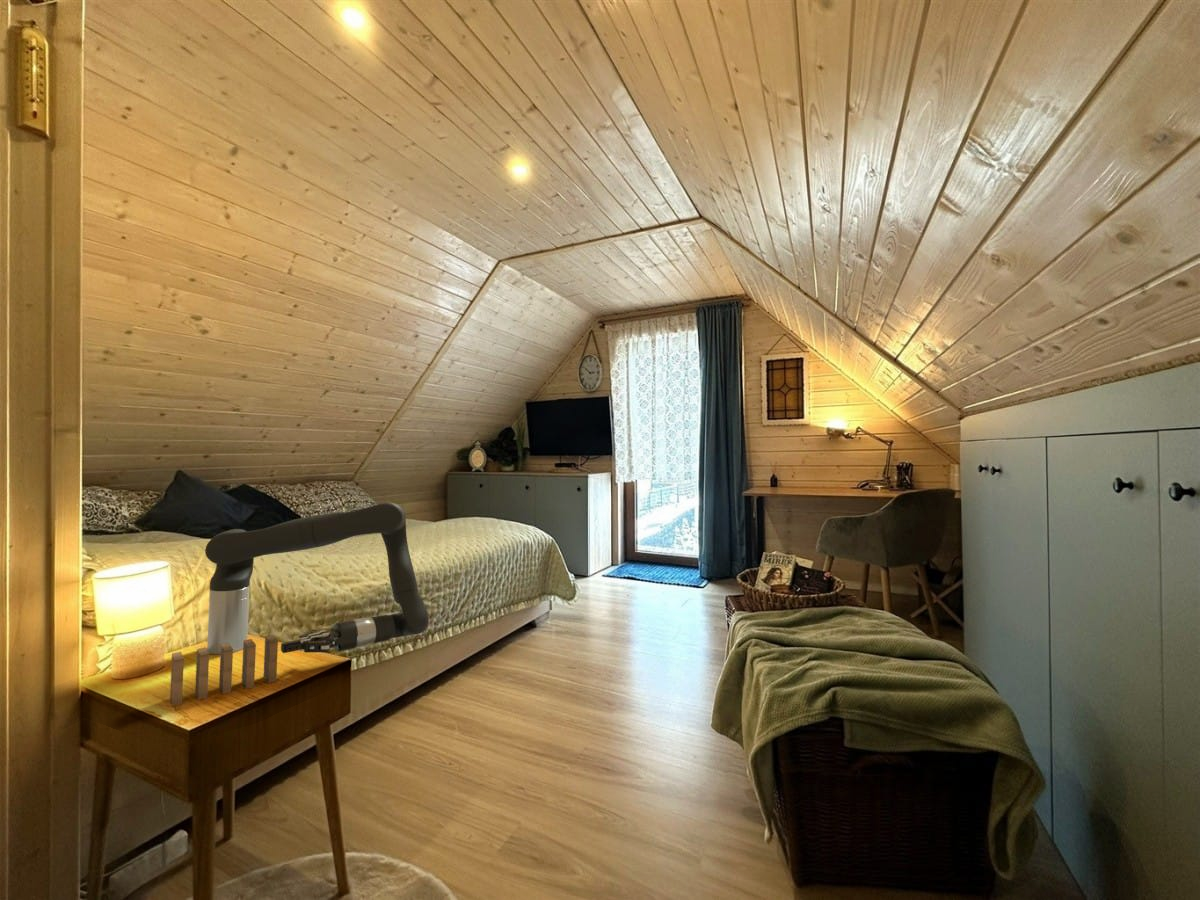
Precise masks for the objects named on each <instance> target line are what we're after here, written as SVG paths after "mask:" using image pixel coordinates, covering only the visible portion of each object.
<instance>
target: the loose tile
mask: <svg viewBox="0 0 1200 900" xmlns="http://www.w3.org/2000/svg"><path fill="white" fill-rule="evenodd" d="M278 645H279V640H278V638H276V636H274V635H273V634H271V635H265V636H264V652H263V653H264V655H263V656H264V657H263V678H264V677H265V678H266V679H265V678H264V679H265V681H266V680H267V681H268V682H267V681H266V682H267V684H271V682H272V683H276V682H277V675H278V674H277V673H278V672H277V671H278V651H279V646H278ZM275 681H276V682H275Z"/></svg>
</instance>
